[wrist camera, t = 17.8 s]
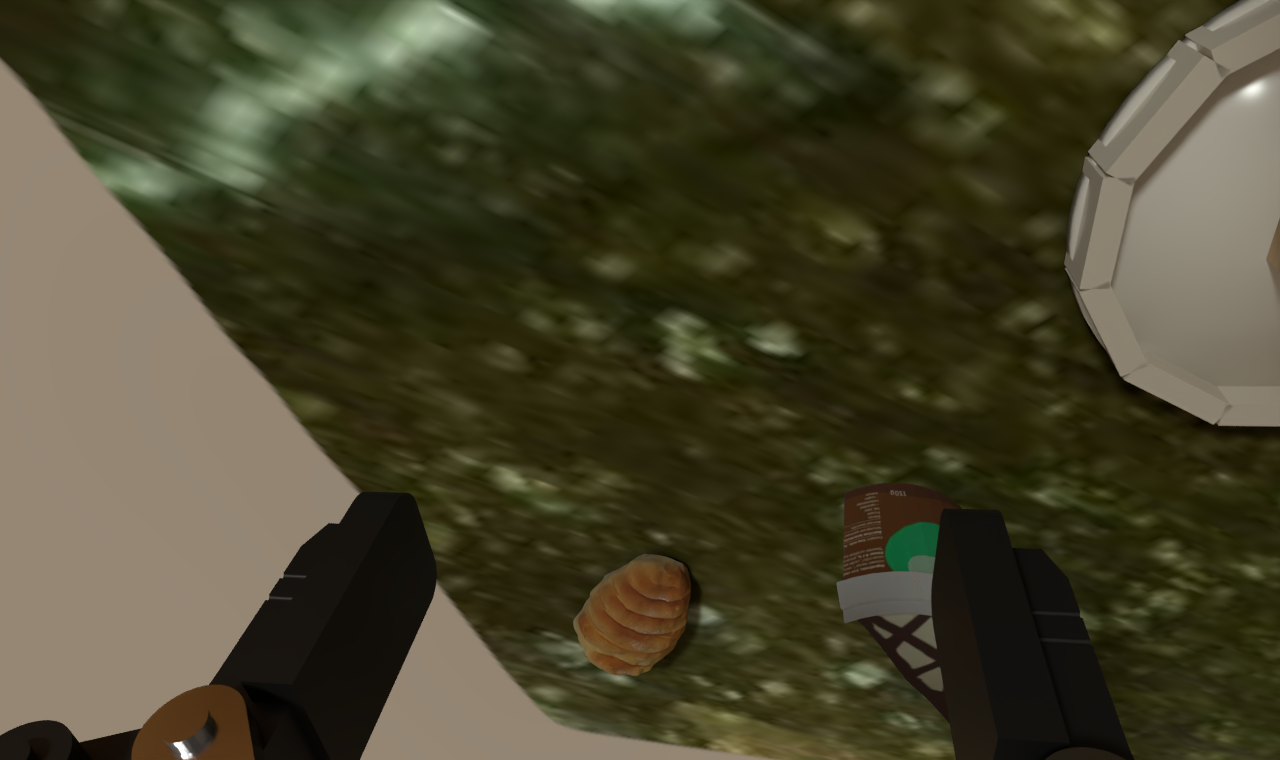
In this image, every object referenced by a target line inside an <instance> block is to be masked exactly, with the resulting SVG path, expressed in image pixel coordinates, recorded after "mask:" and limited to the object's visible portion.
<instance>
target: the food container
mask: <svg viewBox="0 0 1280 760" xmlns="http://www.w3.org/2000/svg"><path fill="white" fill-rule="evenodd" d="M943 509H962V508H961V507H960V506H959V505H958V504H957V503H955V502H954V501H953V500H951V499H950V498H949V497H947V496H945V495H943V494H941V493H939V492H937V491H934V490H932V489H929V488H926V487H922V486H917V485H913V484H903V483H883V484H875V485H869V486H865V487H861V488H857V489H855V490H852V491H849V492H847V493H844V580H843V581H840V582H837V583H836V584H837V590H838V595H839V601H840V607H841V609H842V610H843V614H844V622H845V623H848V622H851V621H854V620H857V621H859V622H860V623H861V624H862V625H863V626H864V627H865V628H866V629H867V630H868V632H869V633H870V634H871V635H872V636H873V637H874V639H875V640H876V641H877V642H878V643H879V645H880V646H881V647H882V648H883V650H884V651H885V652H886V653H887V655H888V656H889V657H890V659H891V660H892V661H893V663H894V664H895V666H896V667H897V668H898V669H899V671H900V672H901V673H902V675H903V676H904V677H905V678H906V680H907V681H908V682H909V683H910V684H911V685H912V686H913V687H915V688H916V689H917V690H918V691H919V692H920V693H921V694H923V695H924V696H925V697H926V698H927V699H928V700H929V701H930V702H931V703H932V704H933V705H934V706H935V708H936V709H937V710H938V711H939V712H940V713H941V714H942V715H943V716H944V718H945V719H946V720H947V721H948V722H949V723H950V721H949V716H948V710H947V704H946V698H945V692H944V687H943V681H942V675H941V669H940V663H939V658H938V652H937V646H936V640H935V635H934V629H933V621H932V609H931V588H932V578H933V570H934V563H935V555H936V548H937V540H938V532H939V525H940V518H941V513H942V511H943Z"/></svg>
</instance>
